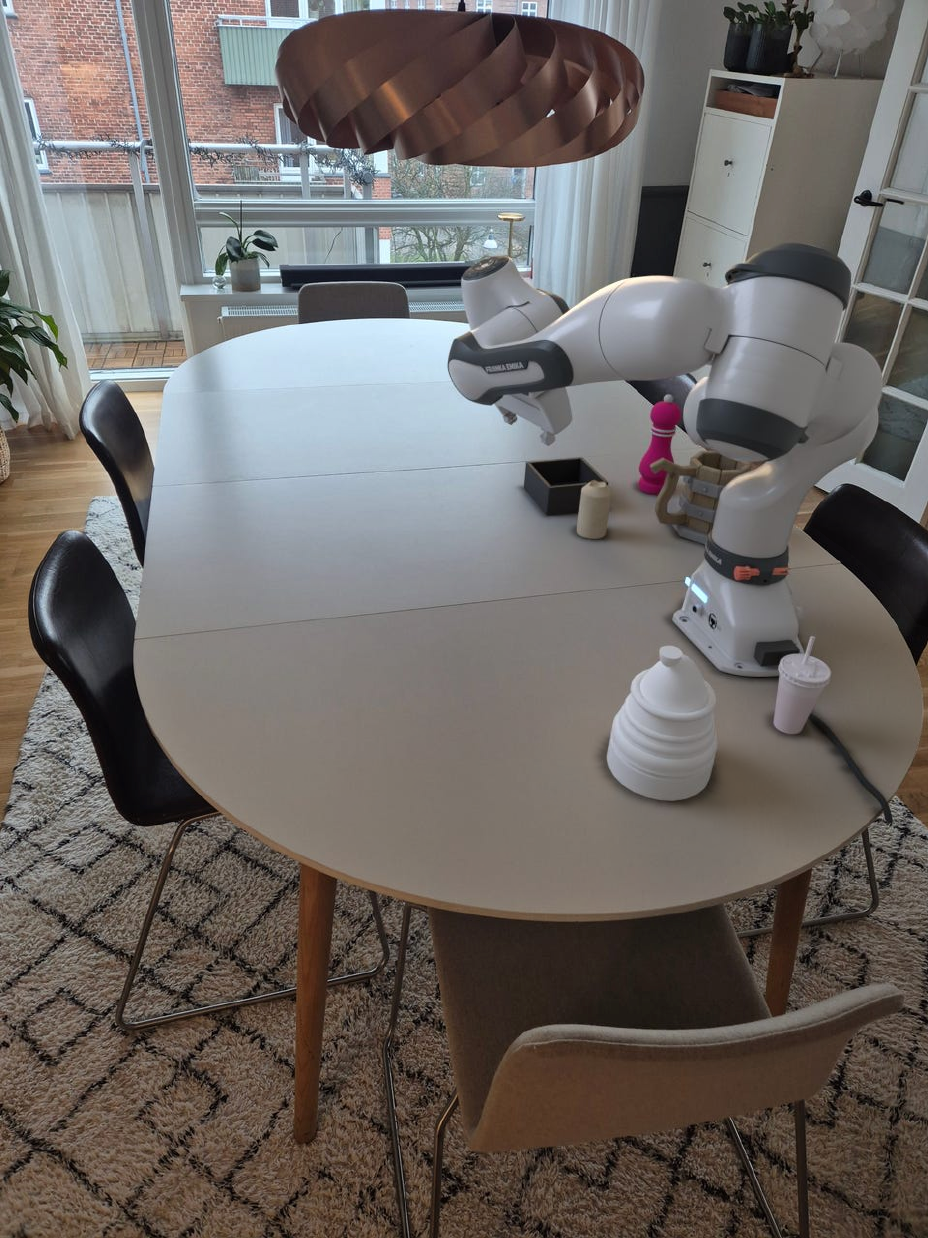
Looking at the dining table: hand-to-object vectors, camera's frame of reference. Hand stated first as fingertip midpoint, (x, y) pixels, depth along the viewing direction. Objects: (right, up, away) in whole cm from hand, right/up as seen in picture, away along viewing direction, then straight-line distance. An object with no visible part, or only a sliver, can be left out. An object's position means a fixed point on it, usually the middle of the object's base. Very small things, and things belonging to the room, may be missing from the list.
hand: (529, 431), depth 142 cm
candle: (+13, -15, +21) cm, 29 cm away
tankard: (+32, -14, +23) cm, 42 cm away
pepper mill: (+29, -4, +39) cm, 48 cm away
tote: (+9, -6, +33) cm, 35 cm away
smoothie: (+33, -45, -25) cm, 61 cm away
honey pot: (+14, -49, -32) cm, 60 cm away
